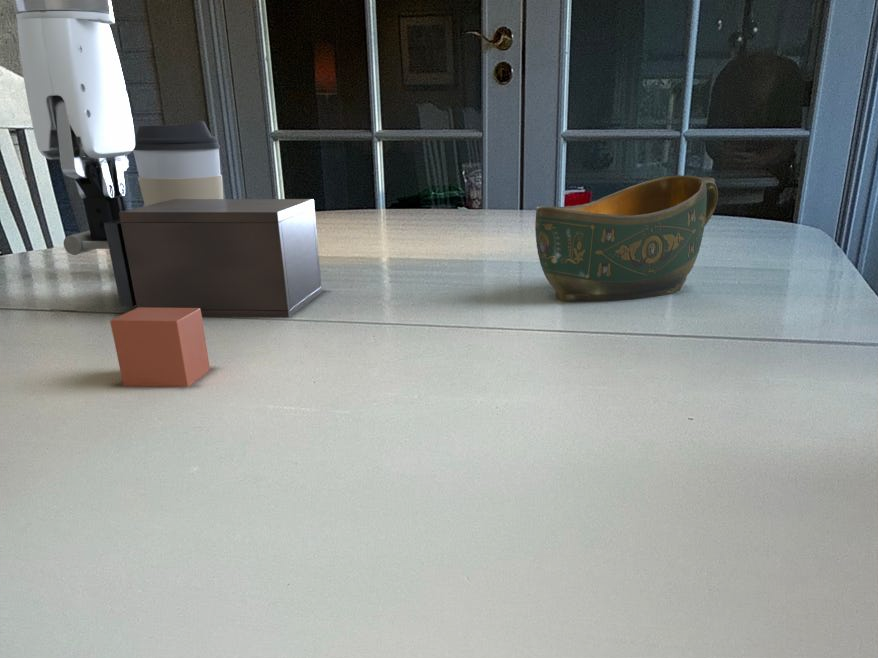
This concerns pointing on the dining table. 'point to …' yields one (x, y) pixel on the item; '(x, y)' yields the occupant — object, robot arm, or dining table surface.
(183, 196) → the coffee cup
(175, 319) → the block
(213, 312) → the cabinet
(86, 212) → the robot arm
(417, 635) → the dining table surface
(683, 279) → the creamer
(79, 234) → the drawer
